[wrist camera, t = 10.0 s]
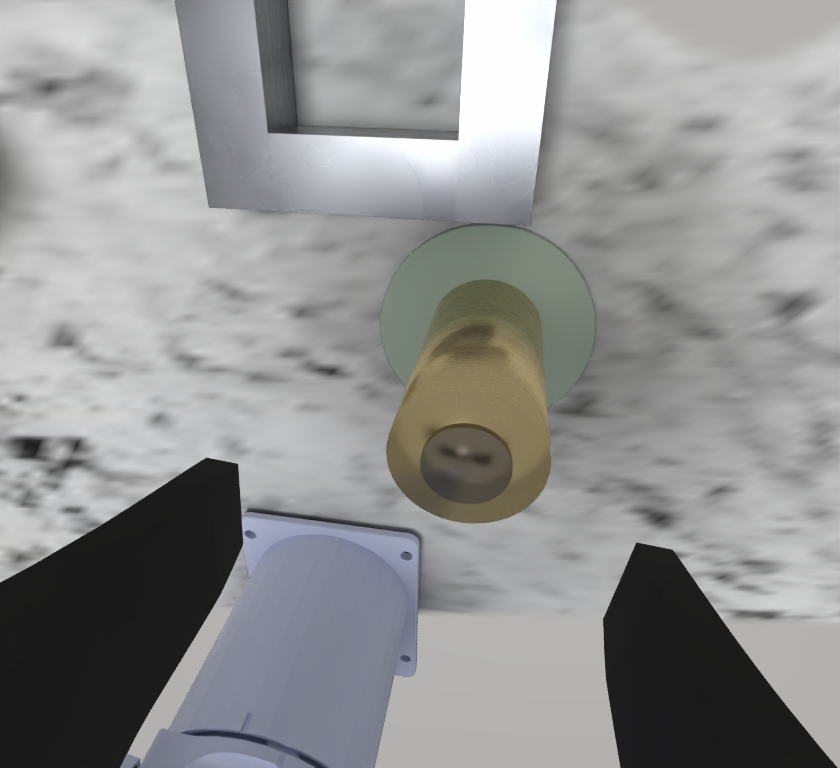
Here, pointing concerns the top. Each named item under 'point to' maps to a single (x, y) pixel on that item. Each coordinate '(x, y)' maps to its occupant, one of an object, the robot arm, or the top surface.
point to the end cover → (475, 408)
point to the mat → (503, 261)
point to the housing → (367, 147)
